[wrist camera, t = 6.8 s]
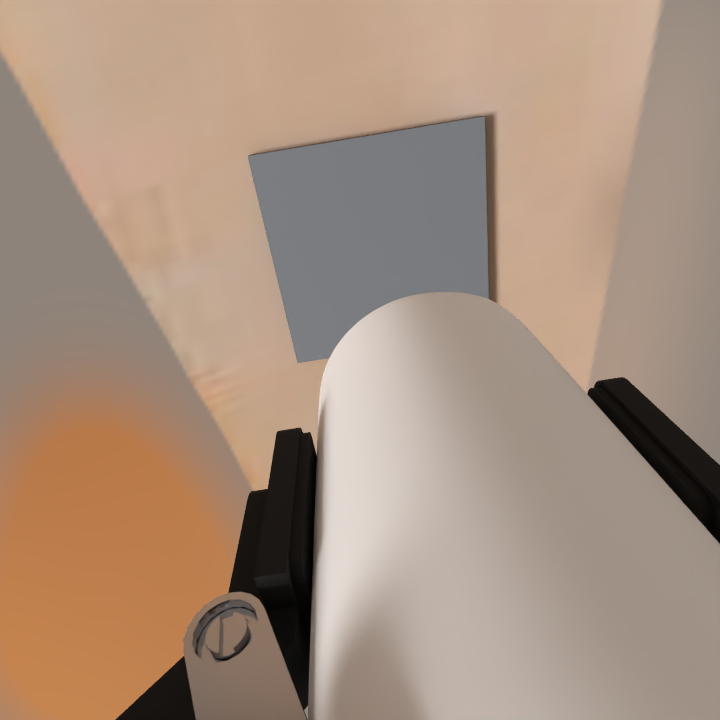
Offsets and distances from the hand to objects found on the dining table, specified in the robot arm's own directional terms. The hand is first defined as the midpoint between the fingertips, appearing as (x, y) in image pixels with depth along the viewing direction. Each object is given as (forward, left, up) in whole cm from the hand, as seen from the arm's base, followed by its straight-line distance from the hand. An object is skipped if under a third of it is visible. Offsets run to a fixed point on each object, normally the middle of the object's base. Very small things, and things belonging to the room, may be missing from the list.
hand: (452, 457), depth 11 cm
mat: (0, 0, -18) cm, 18 cm away
